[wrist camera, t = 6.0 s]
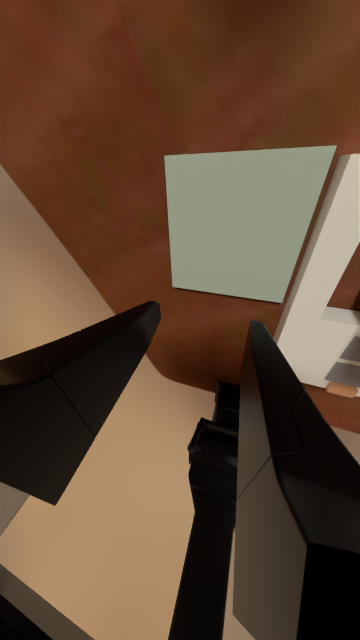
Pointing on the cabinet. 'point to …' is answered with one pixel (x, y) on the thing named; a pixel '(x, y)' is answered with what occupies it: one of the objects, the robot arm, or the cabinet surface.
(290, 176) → the mat
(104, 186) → the cabinet surface
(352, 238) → the cream rectangular frame
